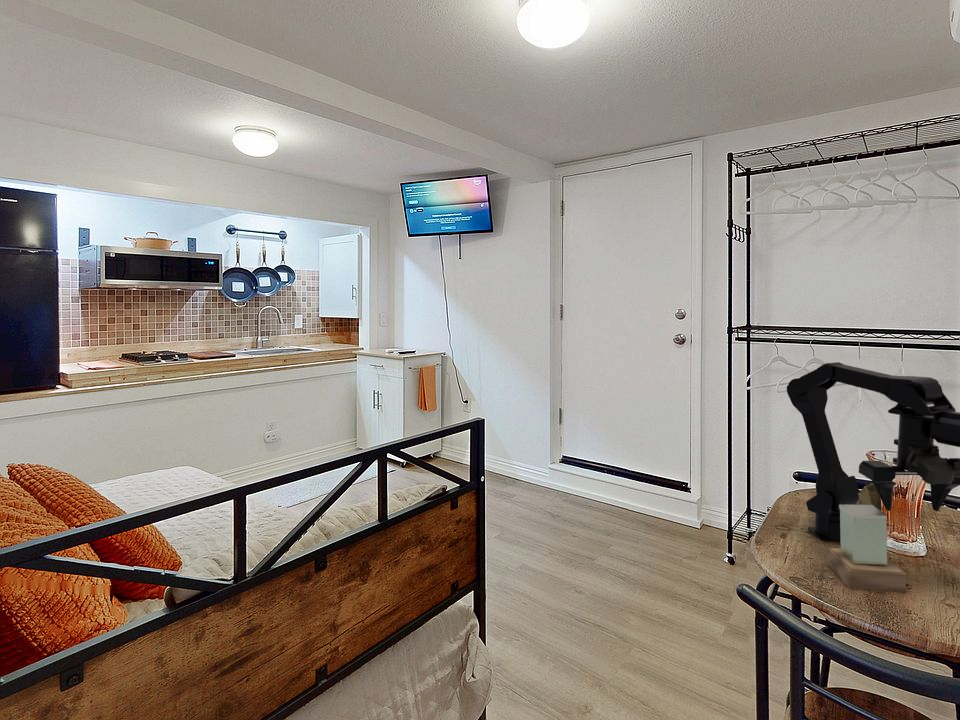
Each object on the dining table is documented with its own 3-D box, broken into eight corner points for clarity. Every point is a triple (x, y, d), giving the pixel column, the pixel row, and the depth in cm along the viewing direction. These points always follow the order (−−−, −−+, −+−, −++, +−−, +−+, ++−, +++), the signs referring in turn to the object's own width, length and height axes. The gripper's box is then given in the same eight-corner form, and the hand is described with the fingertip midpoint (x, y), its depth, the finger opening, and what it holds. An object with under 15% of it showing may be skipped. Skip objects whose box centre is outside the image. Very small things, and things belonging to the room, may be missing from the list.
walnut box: (826, 565, 117) (827, 547, 117) (878, 568, 115) (879, 549, 115) (849, 590, 107) (850, 570, 107) (905, 593, 105) (906, 573, 105)
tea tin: (840, 550, 115) (839, 504, 114) (872, 551, 113) (872, 504, 113) (853, 563, 109) (852, 515, 108) (888, 565, 107) (887, 515, 107)
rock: (847, 496, 148) (844, 503, 140) (872, 475, 145) (870, 481, 137) (885, 527, 143) (884, 536, 135) (911, 506, 140) (912, 514, 132)
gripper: (892, 449, 104) (888, 525, 105) (998, 448, 102) (992, 527, 103) (858, 434, 115) (855, 504, 116) (953, 433, 113) (948, 505, 114)
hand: (911, 510), depth 112 cm, fingers open, 9 cm apart
